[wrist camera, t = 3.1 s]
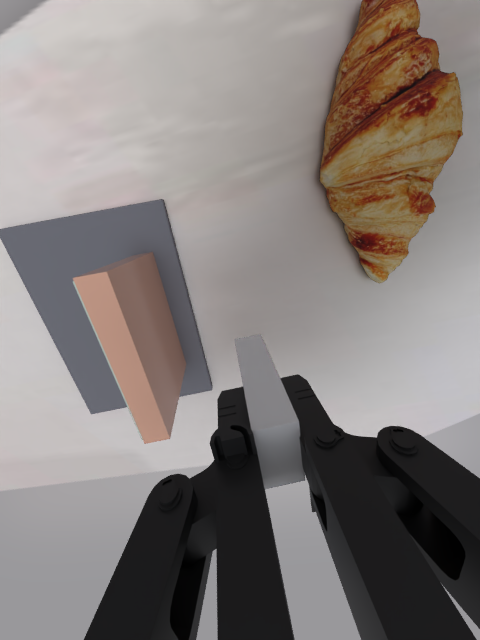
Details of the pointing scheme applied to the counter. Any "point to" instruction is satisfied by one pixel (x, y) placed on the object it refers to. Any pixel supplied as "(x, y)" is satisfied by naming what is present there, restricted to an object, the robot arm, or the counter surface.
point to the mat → (87, 255)
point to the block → (137, 339)
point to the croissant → (388, 133)
